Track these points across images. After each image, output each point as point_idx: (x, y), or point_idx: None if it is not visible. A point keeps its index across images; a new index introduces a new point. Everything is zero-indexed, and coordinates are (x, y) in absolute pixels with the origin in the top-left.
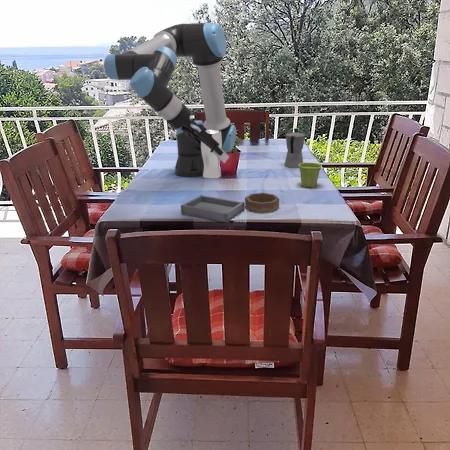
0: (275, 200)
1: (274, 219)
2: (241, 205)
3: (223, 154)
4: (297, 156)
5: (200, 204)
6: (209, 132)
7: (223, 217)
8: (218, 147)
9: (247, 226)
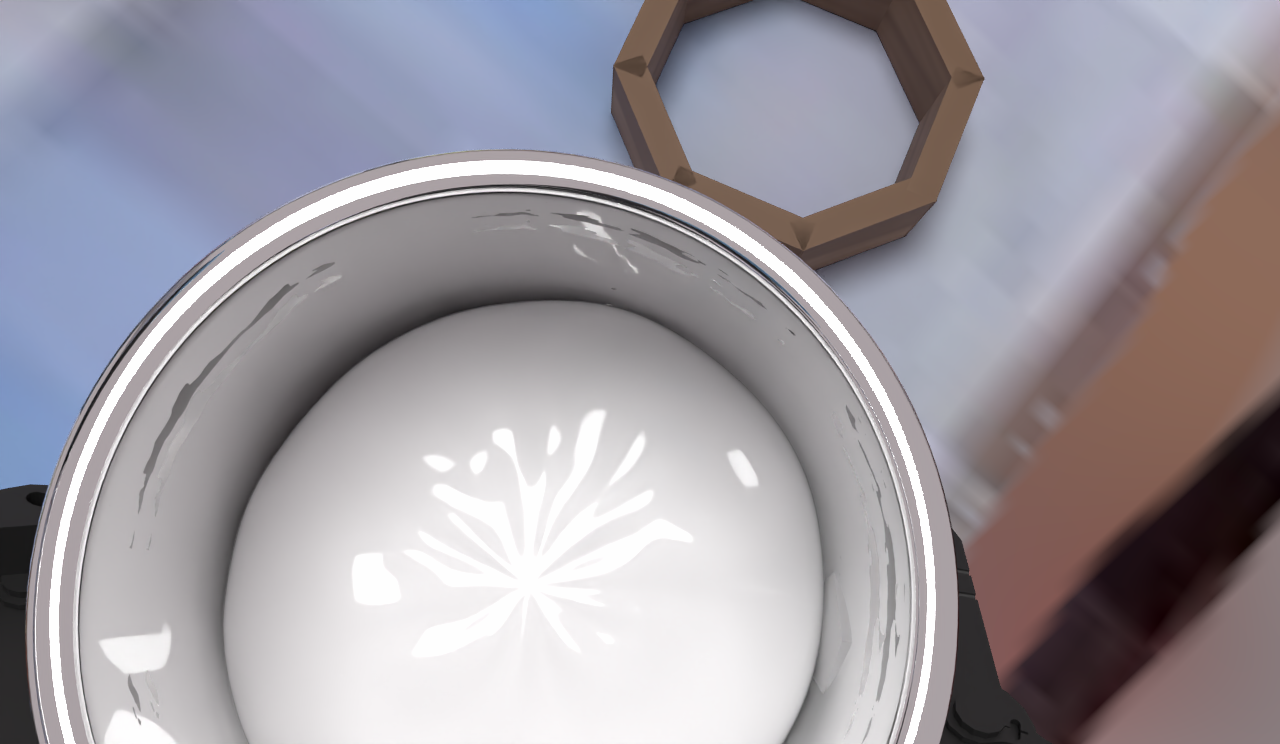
0: (951, 30)
1: (1107, 259)
2: None
3: None
4: None
5: None
6: (165, 407)
7: None
8: (996, 680)
9: (1098, 573)
